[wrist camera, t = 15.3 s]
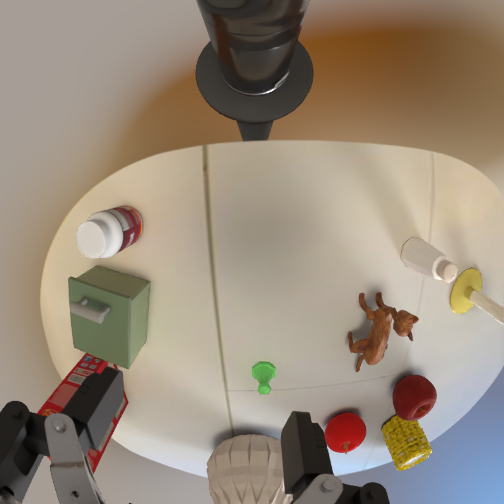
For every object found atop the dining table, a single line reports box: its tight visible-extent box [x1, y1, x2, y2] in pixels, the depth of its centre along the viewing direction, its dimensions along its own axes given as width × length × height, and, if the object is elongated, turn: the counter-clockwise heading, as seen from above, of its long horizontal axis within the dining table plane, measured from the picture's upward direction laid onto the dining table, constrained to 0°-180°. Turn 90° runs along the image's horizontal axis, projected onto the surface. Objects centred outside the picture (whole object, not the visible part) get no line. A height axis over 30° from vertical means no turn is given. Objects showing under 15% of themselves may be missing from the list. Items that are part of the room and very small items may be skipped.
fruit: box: [324, 413, 366, 454], centre depth 45 cm, size 9×9×10 cm
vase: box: [207, 434, 293, 504], centre depth 37 cm, size 20×20×30 cm
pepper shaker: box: [401, 238, 457, 283], centre depth 34 cm, size 5×5×11 cm
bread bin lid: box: [68, 277, 131, 369], centre depth 33 cm, size 13×11×4 cm
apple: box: [393, 375, 437, 421], centre depth 42 cm, size 10×10×10 cm
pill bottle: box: [76, 206, 143, 259], centre depth 34 cm, size 6×6×11 cm
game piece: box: [252, 362, 275, 394], centre depth 43 cm, size 4×4×6 cm
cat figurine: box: [348, 292, 419, 372], centre depth 37 cm, size 18×7×14 cm, turn 0°
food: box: [382, 415, 432, 471], centre depth 44 cm, size 15×12×10 cm
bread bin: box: [77, 266, 150, 366], centre depth 39 cm, size 12×11×8 cm
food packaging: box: [37, 353, 128, 474], centre depth 35 cm, size 15×5×25 cm, turn 178°
